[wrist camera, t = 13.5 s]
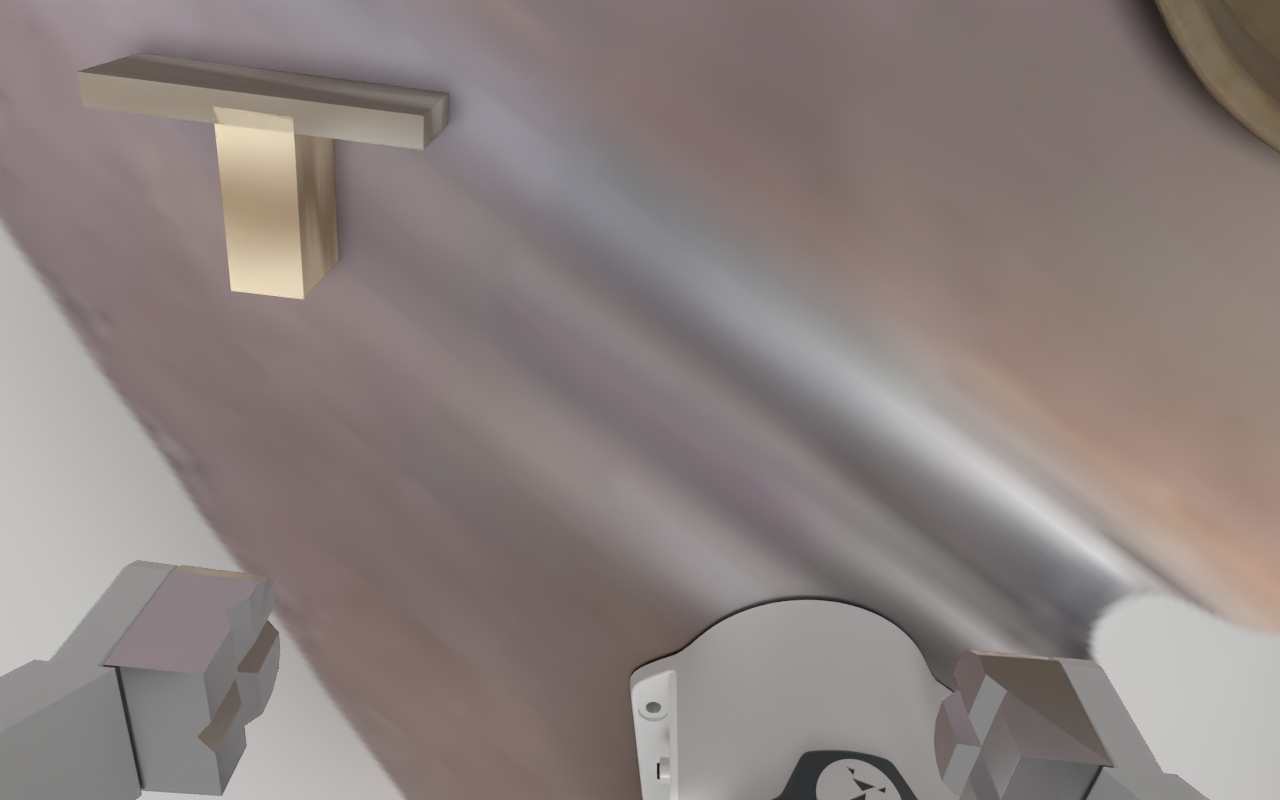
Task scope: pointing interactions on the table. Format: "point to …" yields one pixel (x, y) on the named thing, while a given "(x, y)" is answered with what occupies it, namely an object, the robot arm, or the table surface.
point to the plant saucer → (1233, 56)
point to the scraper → (271, 150)
